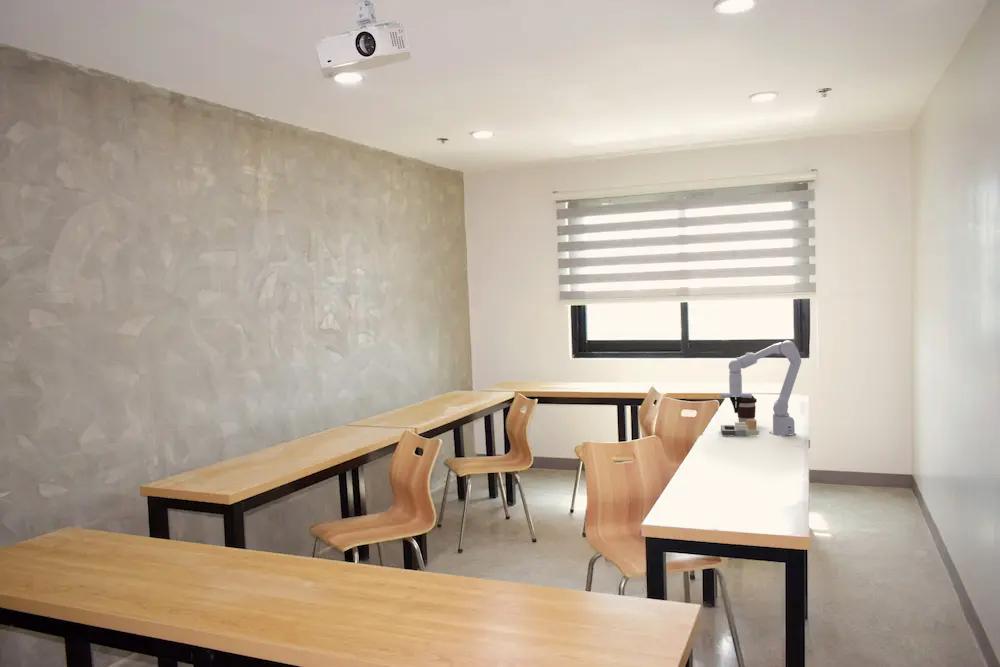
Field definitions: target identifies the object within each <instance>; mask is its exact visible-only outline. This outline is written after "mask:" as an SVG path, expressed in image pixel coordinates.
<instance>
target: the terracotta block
mask: <svg viewBox="0 0 1000 667" xmlns="http://www.w3.org/2000/svg"><path fill="white" fill-rule="evenodd" d="M757 423H758V422H757V419H756V418H755V419H747V429H757V428H758V425H757Z"/></svg>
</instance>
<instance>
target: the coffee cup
mask: <svg viewBox="0 0 1000 667" xmlns="http://www.w3.org/2000/svg"><path fill="white" fill-rule="evenodd" d="M757 401H758V400H757V398H755V397H754V395H752V398H742V401H741V403H740V405H739V408H738V413H737V417H738V418H737V419H738V422H746V425H747V419H756V409H757V408H756V403H757Z"/></svg>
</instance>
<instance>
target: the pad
mask: <svg viewBox="0 0 1000 667" xmlns="http://www.w3.org/2000/svg"><path fill="white" fill-rule="evenodd" d="M758 428H759V427H757V429H747V430H745V433H746V435H760V431H759V429H758Z"/></svg>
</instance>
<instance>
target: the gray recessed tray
mask: <svg viewBox="0 0 1000 667" xmlns="http://www.w3.org/2000/svg"><path fill="white" fill-rule="evenodd" d="M720 432H721V435H734V436H733V437H747V436H746V433H745V430H736V427H735V424H732V425H731V424H727V425H726V424H720ZM735 435H736V436H735Z"/></svg>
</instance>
